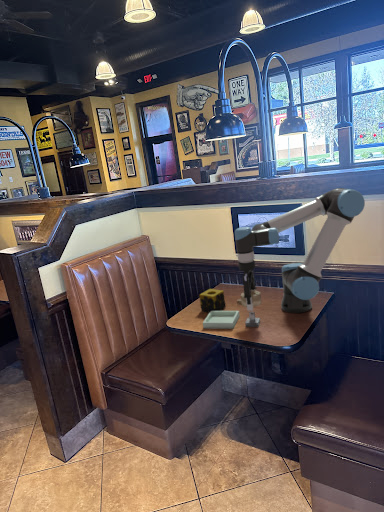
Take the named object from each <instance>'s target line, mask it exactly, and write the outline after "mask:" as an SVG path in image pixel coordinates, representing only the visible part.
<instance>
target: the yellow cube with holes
mask: <svg viewBox="0 0 384 512" xmlns="http://www.w3.org/2000/svg"><path fill="white" fill-rule="evenodd" d="M224 292H225V291H224V289H223V290H220V289H215V288H208V289H207V290H205V291H204V292H201V293H200V294H198V295H199V299H200V300H199V302H200V310H201V312H204V313H208V314H209V313H210V311H223V310H224V309H225V308H226V307H227V306H226V301H225V300H226V299H225V293H224Z"/></svg>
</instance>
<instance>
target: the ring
mask: <svg viewBox="0 0 384 512" xmlns="http://www.w3.org/2000/svg"><path fill="white" fill-rule="evenodd" d="M254 290H255V291H251V297H252V303H253V308H255V307H258V306H260V305H261V304H262V295H261V294H262V293H261V291H258V290H257V289H254ZM236 304H237V306H242V307H245V308H247V304H246V298H244V291H243V292H241V294H240V298H238V299H237V300H236Z"/></svg>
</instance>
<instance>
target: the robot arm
mask: <svg viewBox="0 0 384 512" xmlns="http://www.w3.org/2000/svg"><path fill="white" fill-rule="evenodd" d="M365 202H366V201H365V198H364V196H363V194H362V193H361V192H360V191H358V190H357V189H353V188H344V187H343V188H342V187H338V188H333V189H331V190H330V191H327V192H325V193H323V194H320V195H318V196H316V197H315V198H314V200H313V201H310V202H307V203H306V204H303V205H301V206H299V207H297V208H295V209H293V210H290V211H287V212H285V213H283V214H281V215H278V216H276V217H273V218H271V219H269V220H267V221H265V222H262V223H256V224H254V225H253V226H252V227H249V226H245V227H244V226H243V227H238V228H236V229H235V230H234V240H235V246H236V248H235V249H236V252H237V253H236V257H237V260H238V269H239V271H241V272H243V274H242V282H243V292H244V298H246V304H247V307H246V311H248V312H251V311H253V312H254V307H253V303H252V297H251V291H255V290H257V286H256V280H255V275H254V270H255V269H256V261H255V252H254V248H258V247H263V246H273V245H275V244H276V245H277V244H278V243H279V242H280V235H279V233H282V232H284V231H285V230H289V229H290V228H291V229H292V228H293V227H296V226H298V225H300V224H303V223H305V222H307V221H309V220H311V219H315V218H316V217H318V216H326V215H327V218H326V220H325V222H324V223H323V225H322V228H321V229H320V231H319V233H318V235H317V237H316V238H315V241H314V243H313V245H312V246H311V248H310V250H309V252H308V254H307V256H306V258H305V260H304V262H303V263H300V262H299V263H297V262H296V263H295V262H294V263H287V264H284V265H283V266H281V277H282V288H283V289H282V290H283V296H282V299H281V303H280V306H281V307H280V308H281V310H282V311H284V312H285V313H291V314H299V313H305V312H308V311H310V310H311V309H312V308H313V303H312V301H311V299H313V298H315V297H316V296H317V295H318V293H319V291H320V281H321V279H322V276H323V275H322V273H321V272H322V270H323V268H324V267H325V264H326V263H327V260H328V258H329V257H330V255H331V253H332V251H333V249H334V248H335V246H336V244H337V242H338V241H339V239H340V236H341V235H342V233H343V231H344V230H345V227H346V226H347V225H350V224H352V222H353V220H354V218H355V217H356V216H359V215H360V214H361V213H362V212H363V211H364V208H365Z"/></svg>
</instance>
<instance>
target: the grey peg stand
mask: <svg viewBox="0 0 384 512" xmlns="http://www.w3.org/2000/svg"><path fill="white" fill-rule="evenodd" d="M248 316H249V317H247V318H246V320H245V322H244V324H245V328H246V327H247V328H249V327H250V328H259V326H260V323H261V318H260V317H256V312H255V311H254V310H253V311H248Z"/></svg>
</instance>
